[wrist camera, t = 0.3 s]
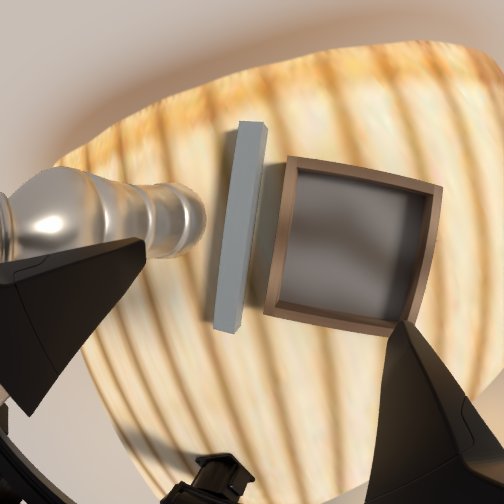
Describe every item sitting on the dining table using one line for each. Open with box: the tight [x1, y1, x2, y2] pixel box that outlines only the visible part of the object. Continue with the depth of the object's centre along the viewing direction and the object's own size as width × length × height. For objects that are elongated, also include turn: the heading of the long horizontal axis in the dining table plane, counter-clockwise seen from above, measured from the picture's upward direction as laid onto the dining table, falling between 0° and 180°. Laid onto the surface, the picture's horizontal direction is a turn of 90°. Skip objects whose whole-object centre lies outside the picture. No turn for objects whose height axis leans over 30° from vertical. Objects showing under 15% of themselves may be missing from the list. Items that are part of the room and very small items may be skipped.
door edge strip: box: [213, 121, 268, 334], centre depth 23 cm, size 18×2×2 cm, turn 172°
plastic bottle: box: [0, 166, 207, 263], centre depth 16 cm, size 6×7×20 cm
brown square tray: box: [263, 156, 443, 337], centre depth 21 cm, size 13×13×2 cm
